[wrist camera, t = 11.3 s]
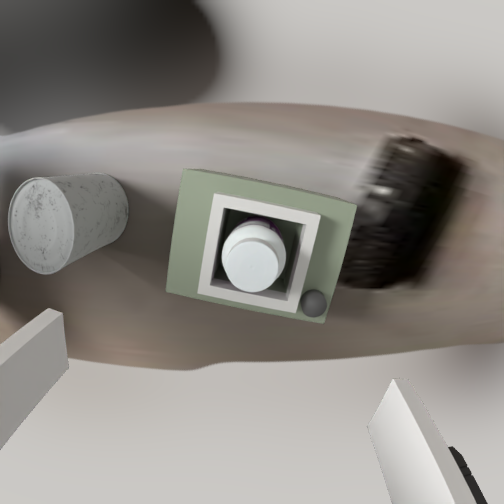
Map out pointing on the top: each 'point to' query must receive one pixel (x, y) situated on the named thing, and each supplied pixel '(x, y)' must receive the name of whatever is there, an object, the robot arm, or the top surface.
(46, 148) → the top surface
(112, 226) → the speckled grey cylinder
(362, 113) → the top surface
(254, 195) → the green open box
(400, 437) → the robot arm
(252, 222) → the pill bottle
